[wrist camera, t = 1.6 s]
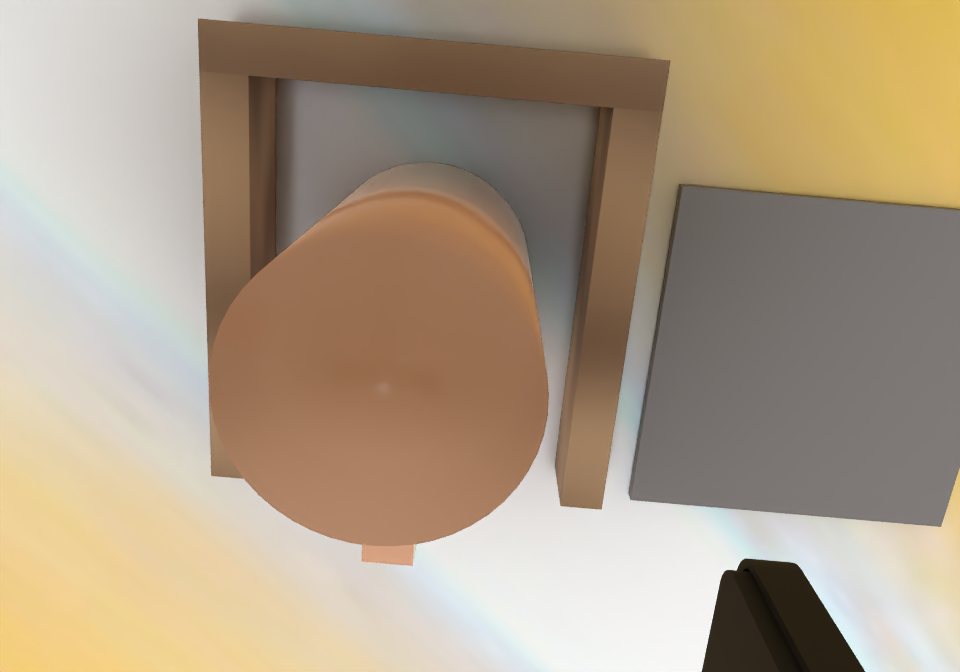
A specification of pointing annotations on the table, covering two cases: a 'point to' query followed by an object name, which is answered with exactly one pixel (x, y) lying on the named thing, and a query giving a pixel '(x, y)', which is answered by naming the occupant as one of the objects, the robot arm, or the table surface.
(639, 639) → the table surface
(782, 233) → the mat
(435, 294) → the pink mug
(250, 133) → the brown wooden u-shaped piece
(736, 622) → the robot arm
